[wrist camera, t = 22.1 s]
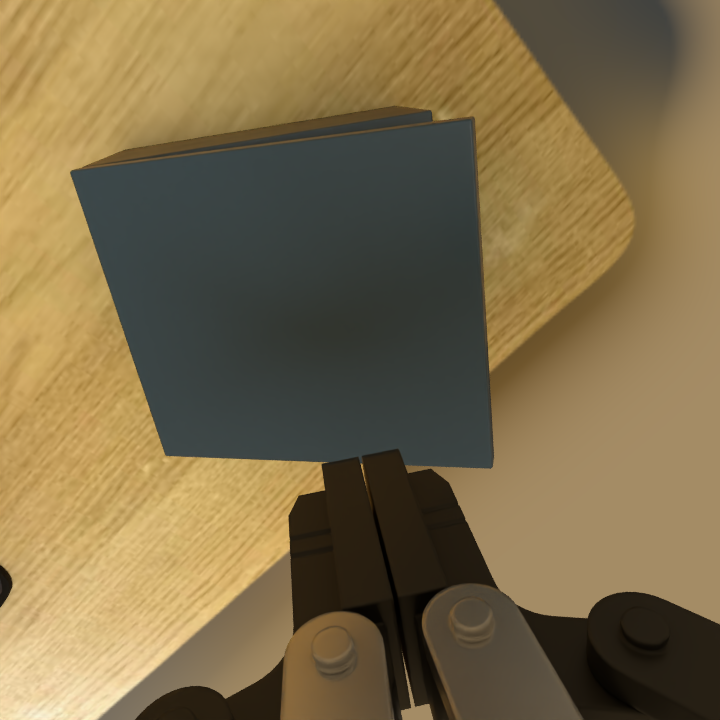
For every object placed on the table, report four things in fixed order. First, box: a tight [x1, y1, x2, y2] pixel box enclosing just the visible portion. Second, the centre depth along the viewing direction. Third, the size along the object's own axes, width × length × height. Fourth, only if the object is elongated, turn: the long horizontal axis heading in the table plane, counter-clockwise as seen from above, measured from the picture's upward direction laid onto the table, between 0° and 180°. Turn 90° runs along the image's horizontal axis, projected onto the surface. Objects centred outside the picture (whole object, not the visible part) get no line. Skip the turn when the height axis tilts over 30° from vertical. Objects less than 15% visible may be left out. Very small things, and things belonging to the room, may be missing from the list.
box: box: [82, 106, 433, 168], centre depth 27 cm, size 13×12×7 cm
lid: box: [70, 117, 494, 469], centre depth 21 cm, size 13×12×1 cm
